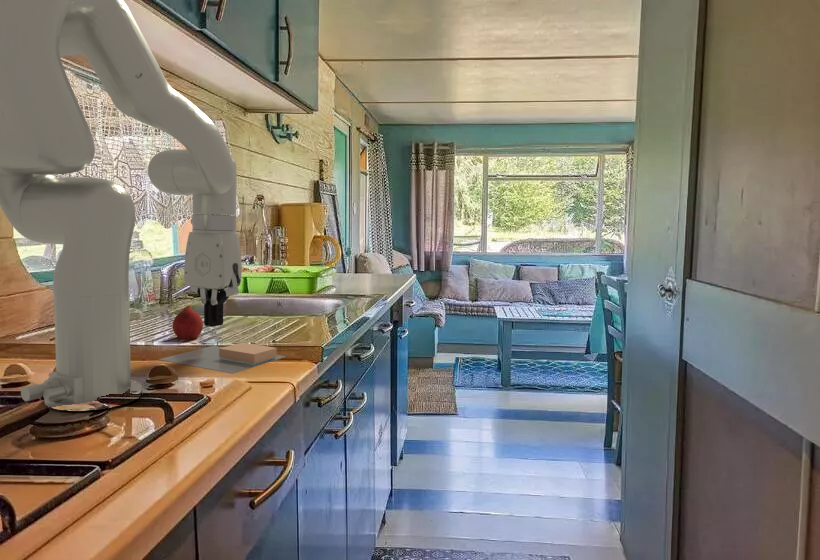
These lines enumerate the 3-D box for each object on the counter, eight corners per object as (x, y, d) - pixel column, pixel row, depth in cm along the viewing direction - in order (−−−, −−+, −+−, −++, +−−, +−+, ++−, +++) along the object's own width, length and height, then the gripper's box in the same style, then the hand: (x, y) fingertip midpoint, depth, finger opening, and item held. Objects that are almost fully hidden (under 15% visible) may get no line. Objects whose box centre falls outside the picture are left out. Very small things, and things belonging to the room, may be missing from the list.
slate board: (232, 380, 102) (232, 373, 102) (158, 366, 109) (158, 359, 109) (286, 362, 114) (286, 356, 114) (216, 351, 122) (216, 345, 122)
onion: (193, 347, 124) (192, 307, 123) (167, 345, 125) (166, 306, 125) (208, 341, 130) (208, 303, 129) (183, 339, 131) (182, 302, 130)
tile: (219, 358, 111) (254, 365, 107) (219, 348, 111) (254, 354, 107) (242, 352, 116) (276, 358, 113) (242, 342, 116) (276, 347, 112)
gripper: (168, 223, 112) (168, 323, 114) (231, 226, 106) (230, 333, 107) (199, 223, 119) (198, 318, 121) (260, 226, 112) (259, 327, 114)
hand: (213, 325), depth 114 cm, fingers closed
